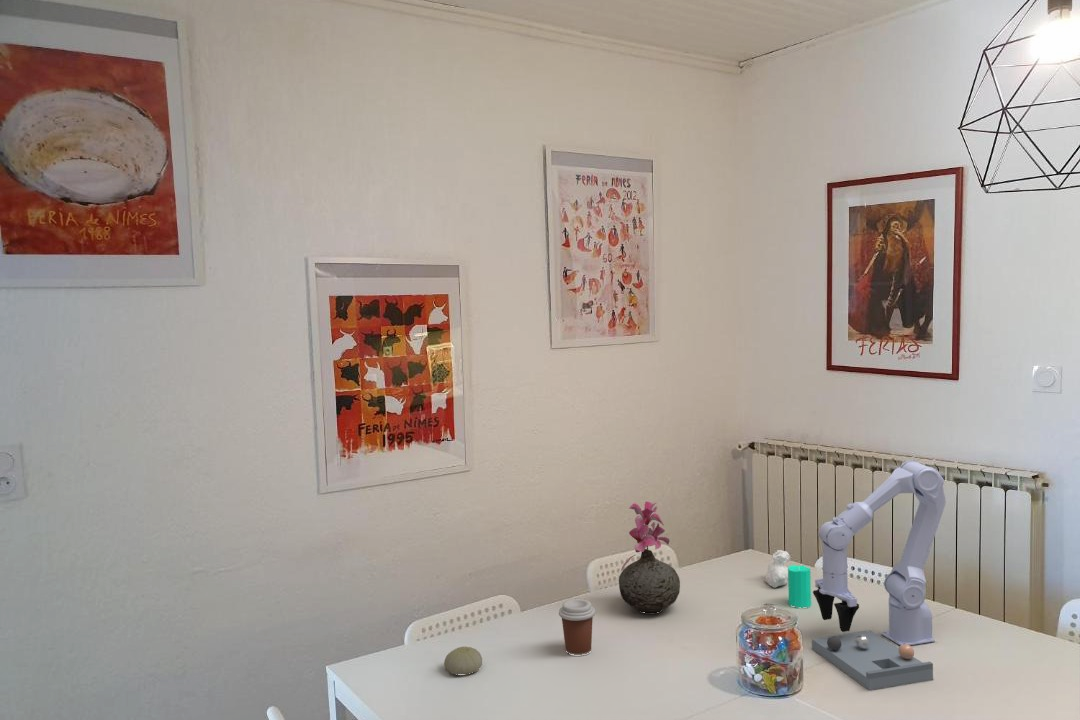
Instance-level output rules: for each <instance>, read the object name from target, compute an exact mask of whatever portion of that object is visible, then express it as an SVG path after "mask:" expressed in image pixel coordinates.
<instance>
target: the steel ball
mask: <svg viewBox="0 0 1080 720" xmlns="http://www.w3.org/2000/svg"><path fill="white" fill-rule="evenodd" d="M855 643H856V645H857V647H859V648H860V649H867V648H868V647H869V646H870V640H869V639H868V637H866V636H865V635H859V636H857V637H856V639H855Z"/></svg>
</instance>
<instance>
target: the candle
mask: <svg viewBox="0 0 1080 720" xmlns="http://www.w3.org/2000/svg"><path fill="white" fill-rule="evenodd" d="M787 568H788V581H787V583H788V589H787V590H788V605H789V604H790V605H792V606H795V607H801V608H803V607H810V606H812V581H811V580H812V579H811V577H812V576H811V574H812V573H811V568H809V567H808V566H805V565H795V564H794V565H793V564H791V565H790V566H788V567H787ZM790 605H789V606H790ZM810 608H811V607H810Z"/></svg>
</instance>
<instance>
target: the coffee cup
mask: <svg viewBox="0 0 1080 720" xmlns="http://www.w3.org/2000/svg"><path fill="white" fill-rule="evenodd" d="M558 615H559V617H560V618H561V623H562V631H563V640H564V646H565V652H566V651H567V652H568V653H570V654H574V655H582V654H587V653H589V652H590V651H591V652H592V638H593V637H592V636H593V617H594V616H595V615H596V609H595V607H593V606H592V604H591V602H590V601H588V600H586V599H582V598H572V599H569V600H566V601H564V602H563V603H562V606H561V608H559V611H558ZM589 654H590V653H589Z"/></svg>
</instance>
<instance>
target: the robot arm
mask: <svg viewBox="0 0 1080 720" xmlns="http://www.w3.org/2000/svg"><path fill="white" fill-rule="evenodd" d="M944 483H945V478H943V477H942V475H941V474H940V473H939V471H938V470H937V469H935V468H934V467H931V466H927V465H926V464H922V463H920V462H919V461H917V460H905V461H904V462H903V463H902V464H900V466H899V467H897V468H895V469H894V470H893V471H892V473H891V474H890V476H889V477H888V478H887V479H885V481H883V483H881V484H880V485H879V486H878V487H877V488H876V489H875V490H874V491H873V492H872V493H870V495H868V497H866V498H865V500H863V501H854V502H853V503H848V504H847V505H846V509H844V510H843V511H842V512H841V513H840V514H838V516H833V518H832V520H830V521H826V522H824V523H823V524H822V525H821V527H820V529H819V531H817V532H818V533H817V534H818V537H819V539H820V540H821V541H822V555H821V556H822V578H818V579H815V580H814V581H815V585H814V586H815V588H817V589H815V590H812V594H813V596H814V597H815V599H816V601H817V604H818V607H819V611H820V614H821V617H822V620H824V621H826V620H832V617H833V607H835V610H836V613H837V616H838V624H839V629H840V631H841V632H842V633H845V632H850V630H851V626H852V623H853V619H854V617H855V615H856V613H857V611H858V610H859V609H860V604H859V603H858V598H857V597H855V596H854V595H853V594H852V592H851V591H850V589H849V588H848V583H849V582H848V550H847V549H848V547H849V546H850V545H851V543H852V539H853V537H854V536H855V535H856V534H858V532H860V531H861V530H862V529H864V527H866V526H867V525H868V524H869V523H871V522H872V521H873V518H874V517H873V516H874V513H875V512H876V511H878V510H879V509H880V508H881V507H883V506H885V505H886V504H887V503H888V502H890V501H891V500H893V499H894V498H895V497H896V496H898V495H899V494H914V495H915V497H916V498H917V500H918V503H919V504H918V505H917V510H916V513H915V516H914V518H913V522H912V525H911V528H910V531H909V534H908V536H907V539H906V543H905V546H904V549H903V552H902V555H901V559H900V561H898V562H897V563H895V564H894V565H893V566H892V569H891V571H890V573H888V574H887V575H886V577H885V578H884V583H883V586H884V589H885V591H886V592H887V593H888V596H889V597H888V630H886V631H881V636H883V637H885V638H887V639H888V640H890V641H892V642H894V643H895V644H897V645H899V647H900V646H901V645H904V644H907V645H910V646H913V645H914V646H915V645H922V644H928V643H934V642H936V640H935V638H934V637H933V614H932V610H931V608H930V606H929V604H928V603H926V602H925V600H926V590H925V589H926V585H927V580H926V575H925V573H924V569H925V567H926V563H927V561H928V558H929V555H930V551H931V548H932V545H933V543H934V539H935V536H936V534H937V529H938V528H939V525H940V521H941V518H942V514H943V512H944V509H945V507H946V496H945V490H944V487H943V486H944ZM835 598H836V599H838V600H840V601H841V602H835V603H834V601H835Z"/></svg>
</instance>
